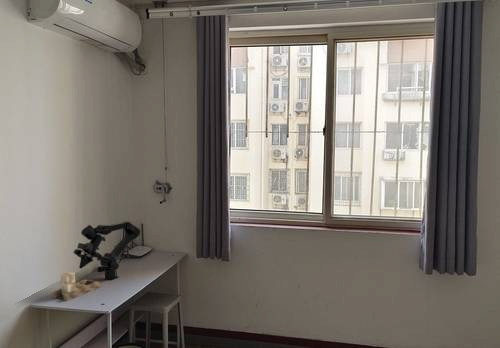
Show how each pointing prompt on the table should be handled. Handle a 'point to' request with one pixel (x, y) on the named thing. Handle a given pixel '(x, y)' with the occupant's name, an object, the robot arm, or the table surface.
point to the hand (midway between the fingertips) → (80, 268)
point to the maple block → (68, 282)
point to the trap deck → (76, 290)
